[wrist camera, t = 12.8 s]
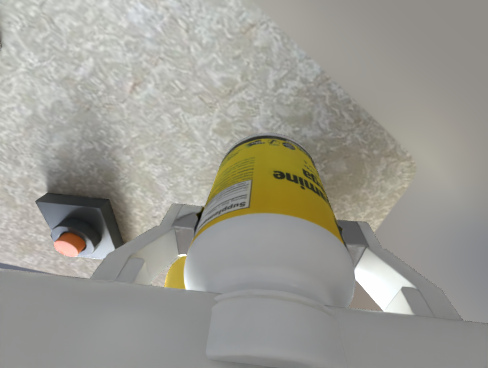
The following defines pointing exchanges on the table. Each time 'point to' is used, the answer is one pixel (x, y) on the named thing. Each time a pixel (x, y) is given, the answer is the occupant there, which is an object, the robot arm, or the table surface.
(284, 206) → the pill bottle
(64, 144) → the table surface
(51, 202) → the push button box
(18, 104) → the table surface
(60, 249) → the orange push button
